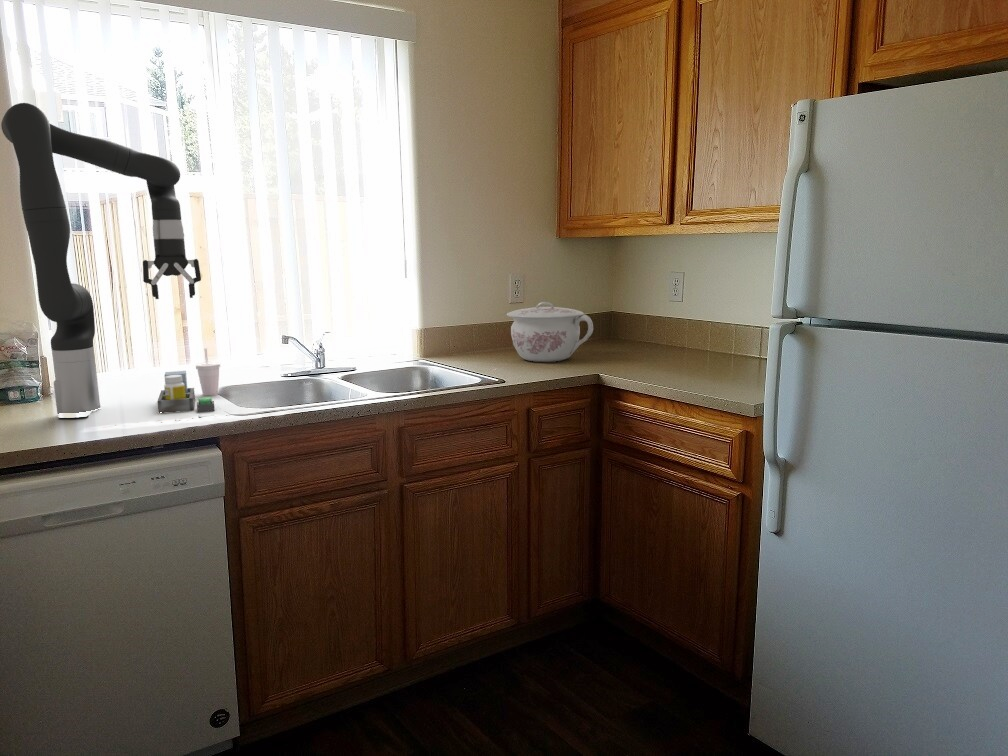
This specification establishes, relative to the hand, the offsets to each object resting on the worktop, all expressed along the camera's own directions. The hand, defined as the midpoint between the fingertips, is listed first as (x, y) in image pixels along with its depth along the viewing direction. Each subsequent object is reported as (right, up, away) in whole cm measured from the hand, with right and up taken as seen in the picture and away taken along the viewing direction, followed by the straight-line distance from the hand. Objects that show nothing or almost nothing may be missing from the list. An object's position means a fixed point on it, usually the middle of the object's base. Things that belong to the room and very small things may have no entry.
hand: (174, 298), depth 206 cm
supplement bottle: (+6, -30, -12) cm, 32 cm away
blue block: (+3, -28, -5) cm, 29 cm away
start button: (+14, -32, -14) cm, 38 cm away
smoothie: (+7, -27, +6) cm, 29 cm away
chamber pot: (+104, -15, +66) cm, 124 cm away
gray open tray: (+4, -30, -8) cm, 31 cm away
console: (+14, -31, -14) cm, 37 cm away
